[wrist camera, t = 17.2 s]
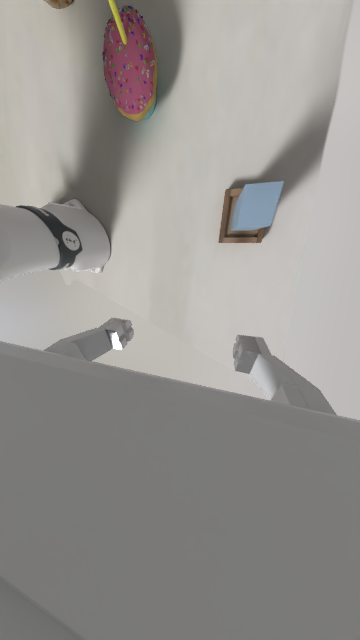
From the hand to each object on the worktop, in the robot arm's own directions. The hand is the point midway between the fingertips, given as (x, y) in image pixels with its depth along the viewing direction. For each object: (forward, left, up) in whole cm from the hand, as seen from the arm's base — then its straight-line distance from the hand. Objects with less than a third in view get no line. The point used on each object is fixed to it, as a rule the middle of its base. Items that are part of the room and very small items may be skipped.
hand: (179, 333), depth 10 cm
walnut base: (+7, +10, -31) cm, 33 cm away
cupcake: (-14, +28, -31) cm, 44 cm away
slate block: (+7, +10, -30) cm, 32 cm away
